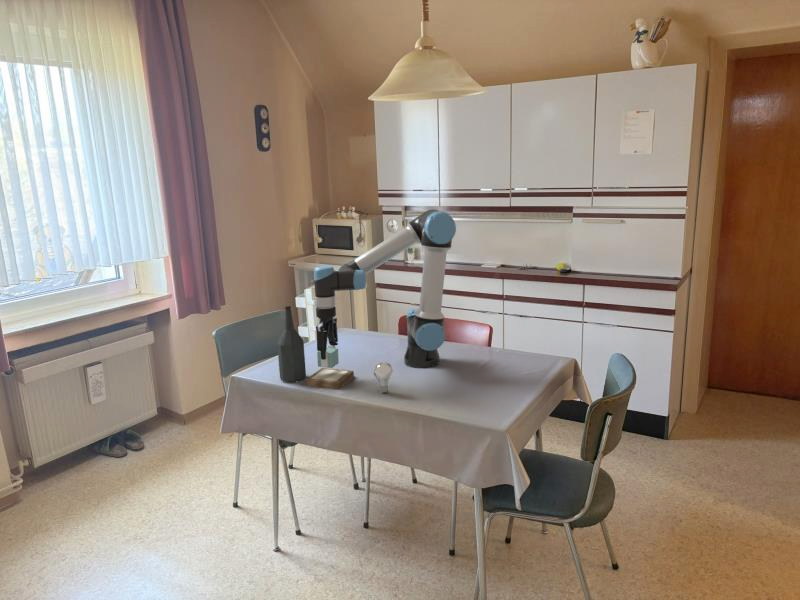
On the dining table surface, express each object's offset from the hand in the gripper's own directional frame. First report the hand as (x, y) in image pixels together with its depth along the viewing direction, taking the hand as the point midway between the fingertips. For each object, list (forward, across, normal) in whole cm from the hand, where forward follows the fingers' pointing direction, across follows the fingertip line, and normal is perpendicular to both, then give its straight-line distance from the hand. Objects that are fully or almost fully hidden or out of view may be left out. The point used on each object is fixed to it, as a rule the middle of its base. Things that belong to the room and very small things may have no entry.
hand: (328, 363), depth 239 cm
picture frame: (+7, 0, 0) cm, 7 cm away
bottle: (+7, +1, -16) cm, 18 cm away
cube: (0, 0, 0) cm, 0 cm away
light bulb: (+7, +6, +25) cm, 27 cm away
